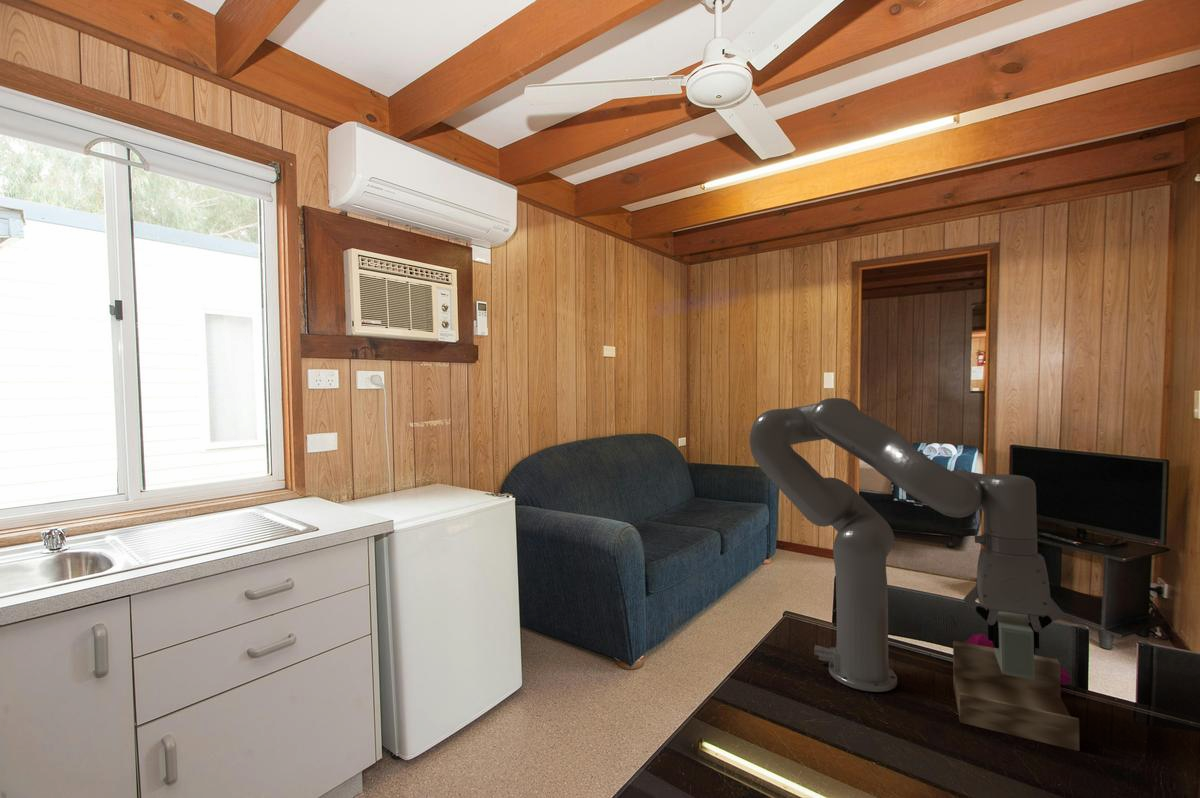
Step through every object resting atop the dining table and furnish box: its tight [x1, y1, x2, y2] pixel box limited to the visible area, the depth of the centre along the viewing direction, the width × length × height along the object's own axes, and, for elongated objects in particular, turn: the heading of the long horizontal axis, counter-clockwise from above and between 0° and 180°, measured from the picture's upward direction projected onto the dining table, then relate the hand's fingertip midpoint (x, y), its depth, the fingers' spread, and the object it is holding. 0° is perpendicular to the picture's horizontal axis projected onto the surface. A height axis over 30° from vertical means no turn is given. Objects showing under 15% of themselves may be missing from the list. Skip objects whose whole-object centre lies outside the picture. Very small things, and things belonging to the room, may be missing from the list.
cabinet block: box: [994, 611, 1035, 680], centre depth 95 cm, size 4×9×8 cm, turn 151°
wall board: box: [952, 640, 1080, 752], centre depth 96 cm, size 16×14×9 cm
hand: (1013, 647), depth 95 cm, fingers closed on cabinet block, 4 cm apart
